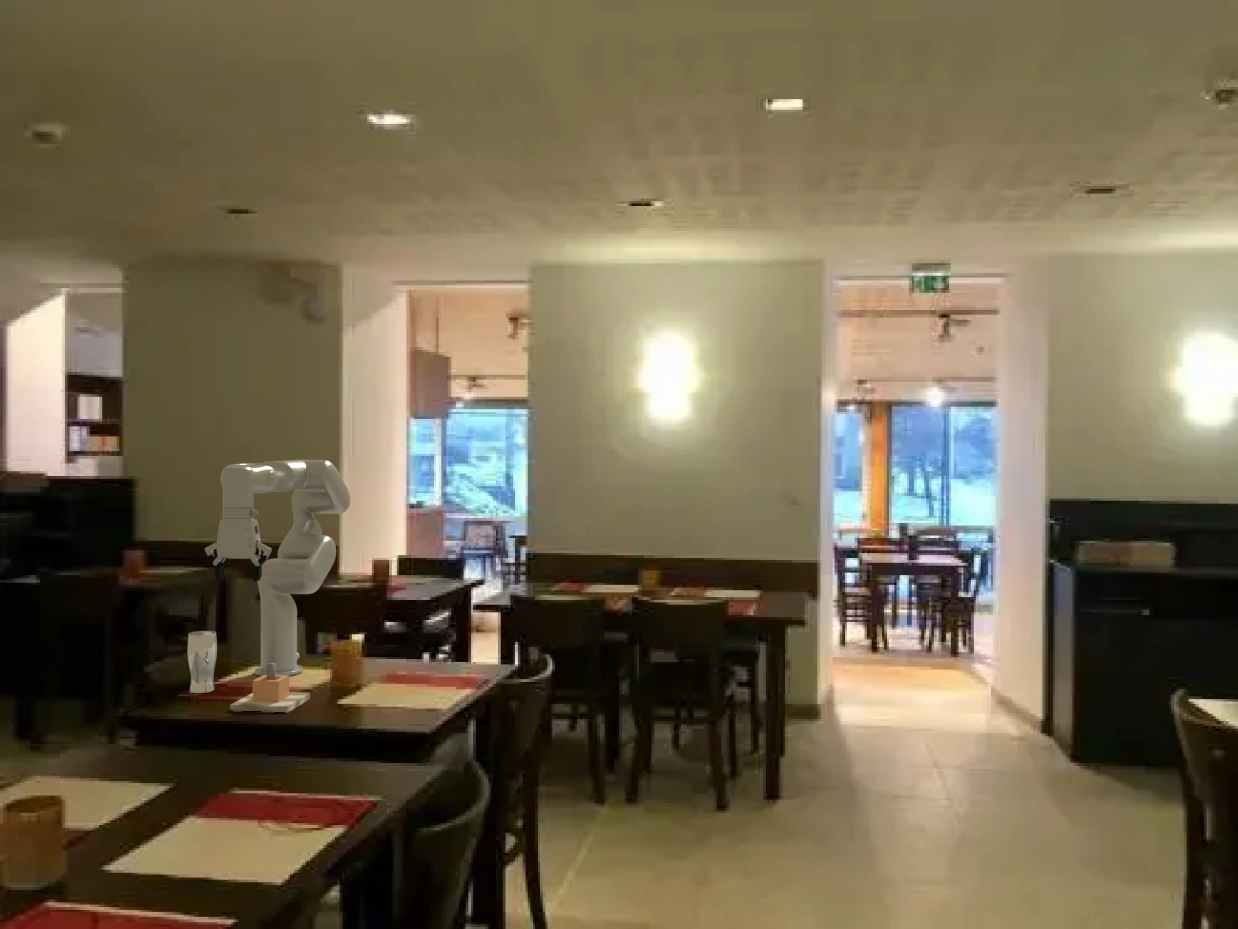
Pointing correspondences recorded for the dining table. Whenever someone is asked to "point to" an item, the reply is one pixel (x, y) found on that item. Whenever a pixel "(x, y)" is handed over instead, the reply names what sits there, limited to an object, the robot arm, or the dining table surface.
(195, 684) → the beer glass
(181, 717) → the dining table surface
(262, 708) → the white peg stand
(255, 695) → the orange square block
